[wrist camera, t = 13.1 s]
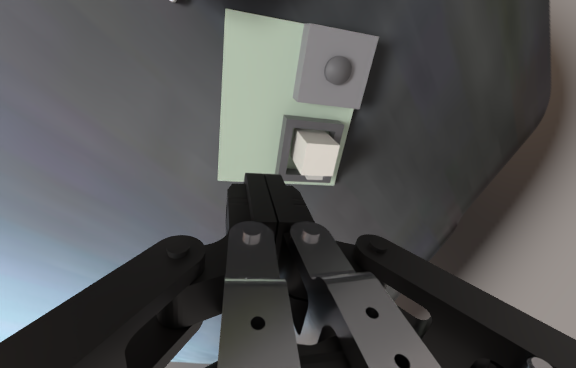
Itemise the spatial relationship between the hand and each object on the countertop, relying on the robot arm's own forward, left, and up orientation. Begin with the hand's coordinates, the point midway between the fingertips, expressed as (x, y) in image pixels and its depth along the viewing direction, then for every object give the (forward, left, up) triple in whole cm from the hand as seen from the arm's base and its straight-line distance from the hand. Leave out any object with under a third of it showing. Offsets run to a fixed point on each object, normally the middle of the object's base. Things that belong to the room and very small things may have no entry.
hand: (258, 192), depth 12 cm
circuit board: (+2, +7, -25) cm, 26 cm away
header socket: (+6, +10, -24) cm, 27 cm away
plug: (+6, +10, -24) cm, 27 cm away
